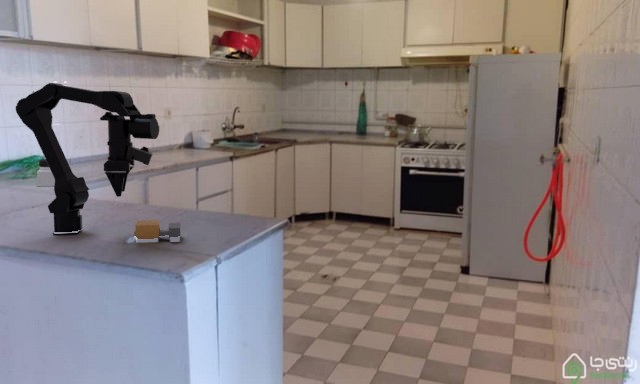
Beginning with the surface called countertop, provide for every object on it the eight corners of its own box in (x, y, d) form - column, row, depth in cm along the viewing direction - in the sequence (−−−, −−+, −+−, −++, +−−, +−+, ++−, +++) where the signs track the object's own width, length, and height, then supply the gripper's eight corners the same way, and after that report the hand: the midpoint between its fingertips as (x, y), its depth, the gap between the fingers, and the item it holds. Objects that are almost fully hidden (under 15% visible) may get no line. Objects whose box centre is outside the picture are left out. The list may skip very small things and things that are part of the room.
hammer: (133, 243, 136) (133, 229, 135) (135, 237, 142) (135, 223, 142) (180, 242, 139) (180, 228, 138) (180, 236, 146) (180, 222, 145)
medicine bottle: (55, 186, 231) (54, 160, 229) (37, 186, 228) (36, 160, 226) (57, 184, 237) (56, 158, 235) (39, 184, 235) (38, 158, 233)
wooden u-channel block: (135, 243, 136) (135, 225, 136) (137, 237, 142) (137, 220, 142) (159, 243, 138) (159, 224, 137) (159, 237, 144) (159, 220, 143)
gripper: (148, 140, 133) (149, 199, 135) (152, 137, 151) (152, 189, 153) (102, 139, 130) (104, 199, 132) (111, 136, 148) (112, 189, 150)
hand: (120, 193), depth 142 cm, fingers open, 9 cm apart
